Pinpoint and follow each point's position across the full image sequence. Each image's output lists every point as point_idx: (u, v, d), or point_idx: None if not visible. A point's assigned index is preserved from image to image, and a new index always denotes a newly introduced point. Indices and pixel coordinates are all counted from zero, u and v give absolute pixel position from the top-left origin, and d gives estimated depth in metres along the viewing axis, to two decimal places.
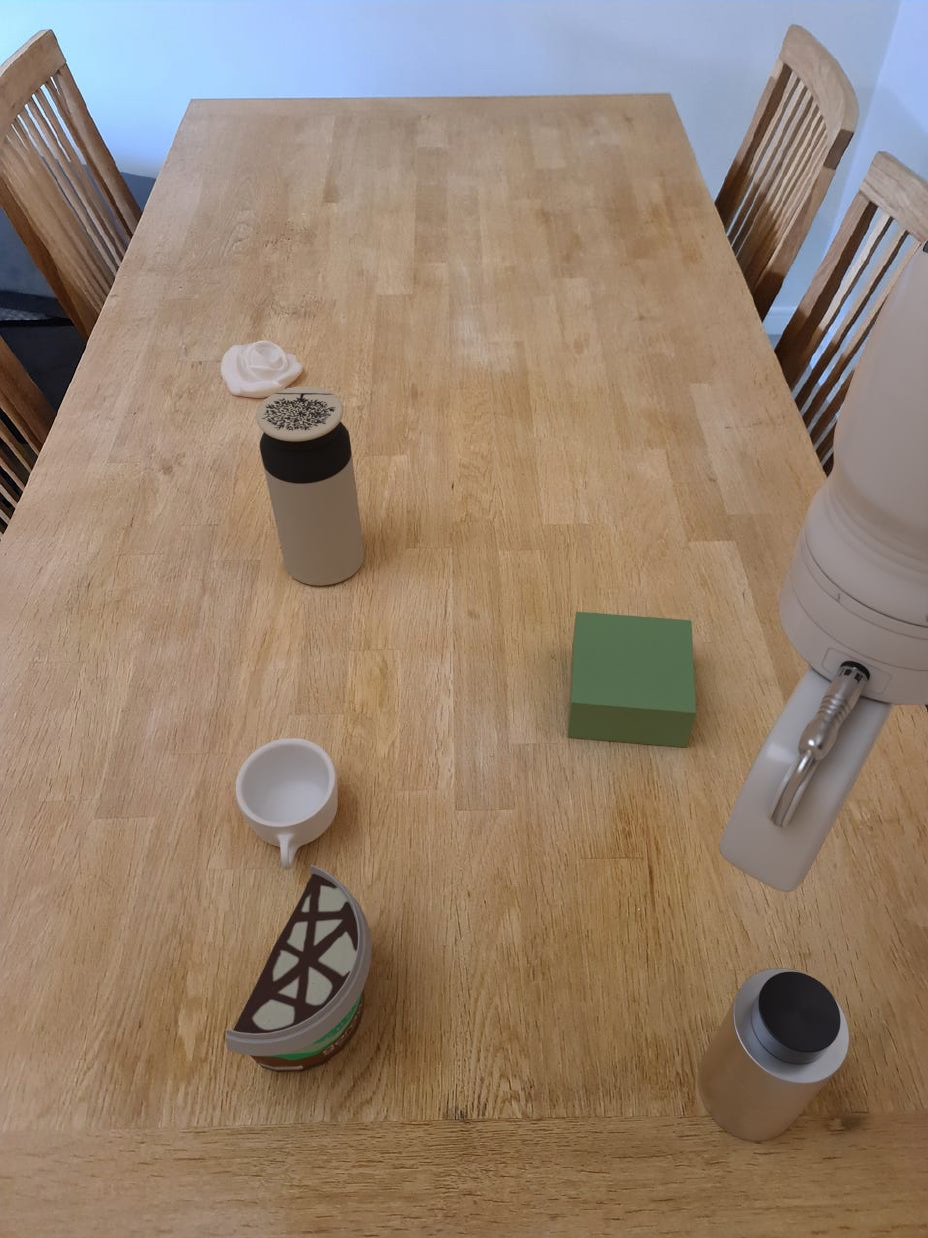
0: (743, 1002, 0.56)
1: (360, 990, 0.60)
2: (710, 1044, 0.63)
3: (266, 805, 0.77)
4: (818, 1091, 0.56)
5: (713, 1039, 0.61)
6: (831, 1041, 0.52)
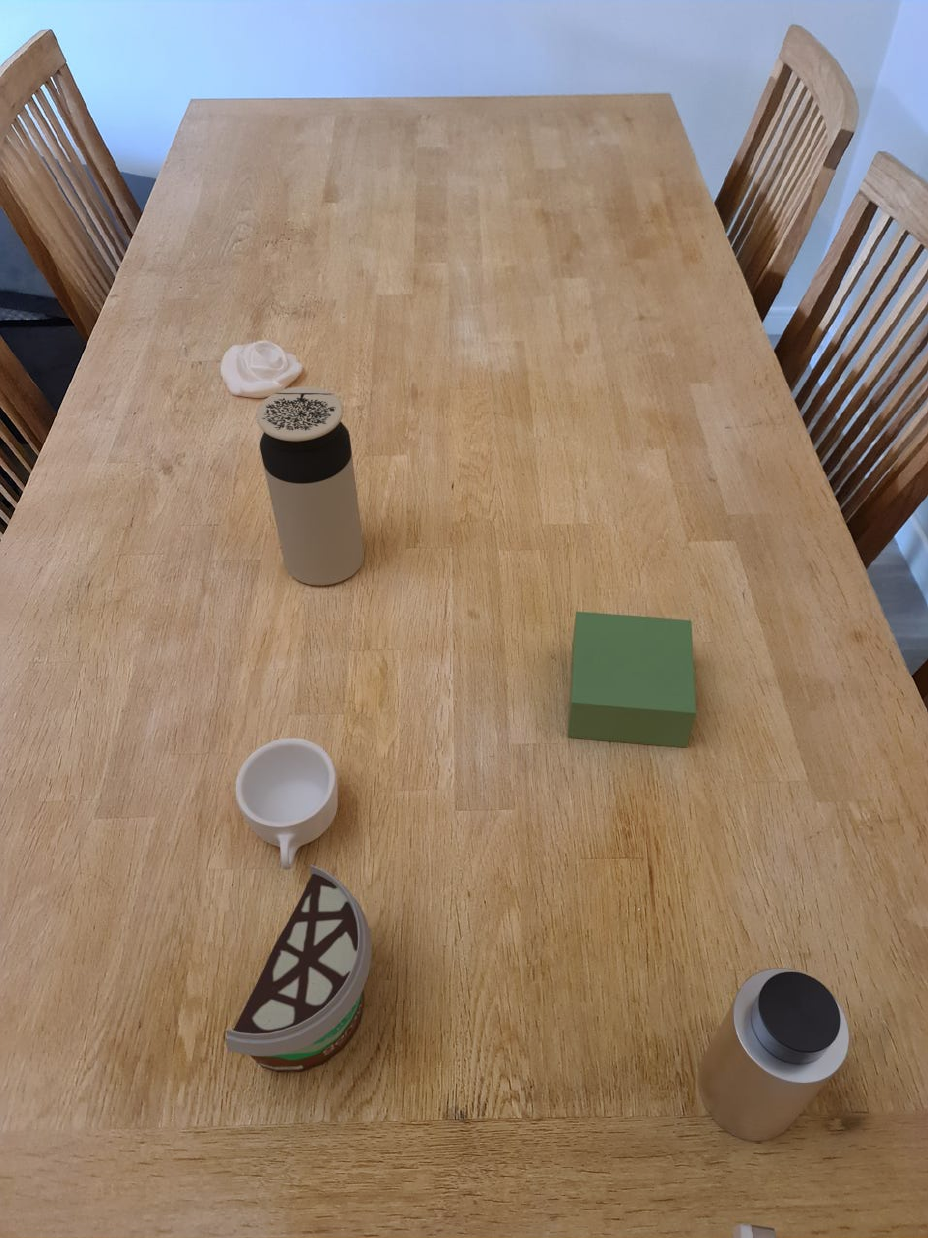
0: (743, 1002, 0.56)
1: (360, 990, 0.60)
2: (710, 1044, 0.63)
3: (266, 805, 0.77)
4: (818, 1091, 0.56)
5: (713, 1039, 0.61)
6: (831, 1041, 0.52)
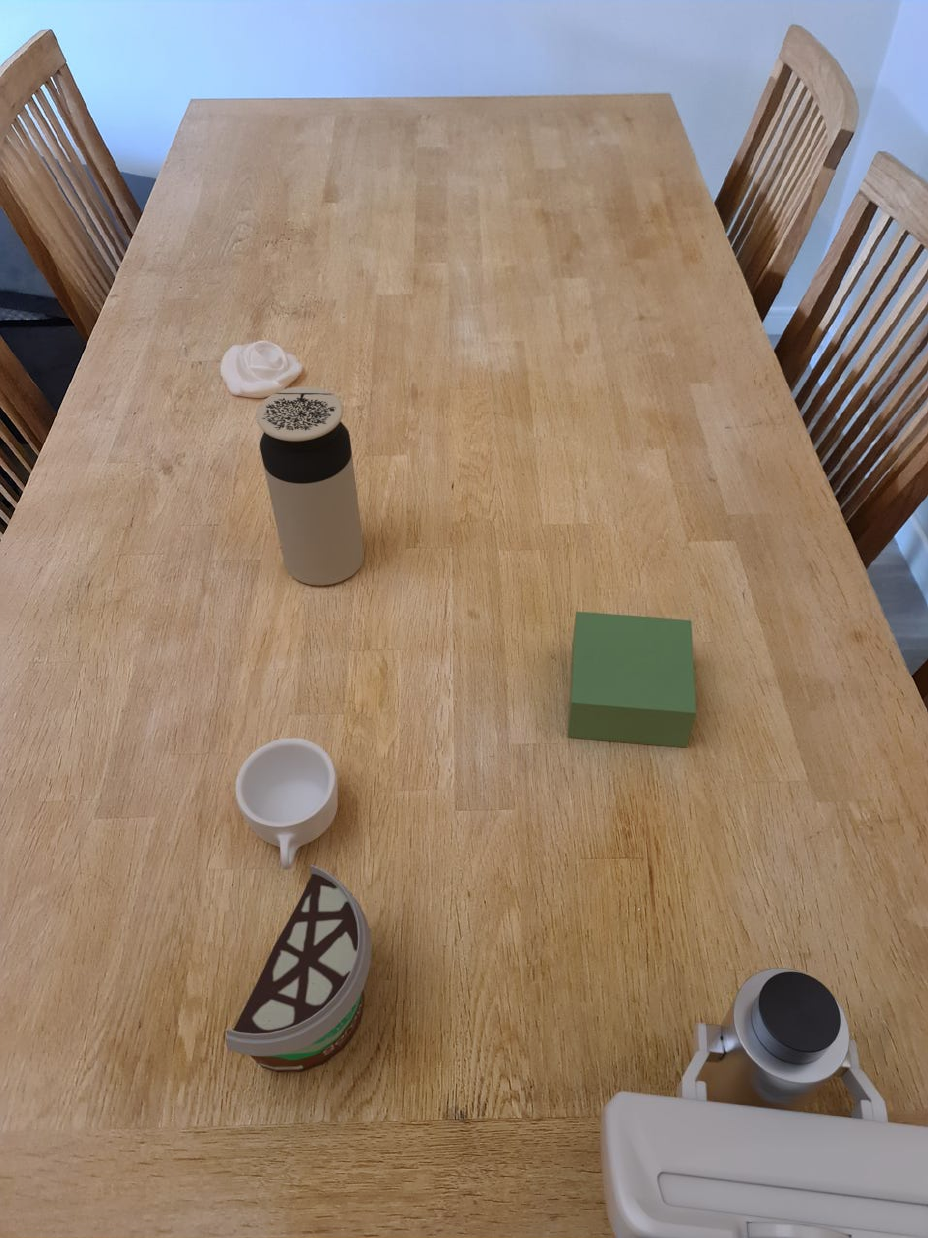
0: (744, 1002, 0.56)
1: (360, 990, 0.60)
2: None
3: (266, 805, 0.77)
4: (818, 1091, 0.56)
5: None
6: (831, 1041, 0.52)
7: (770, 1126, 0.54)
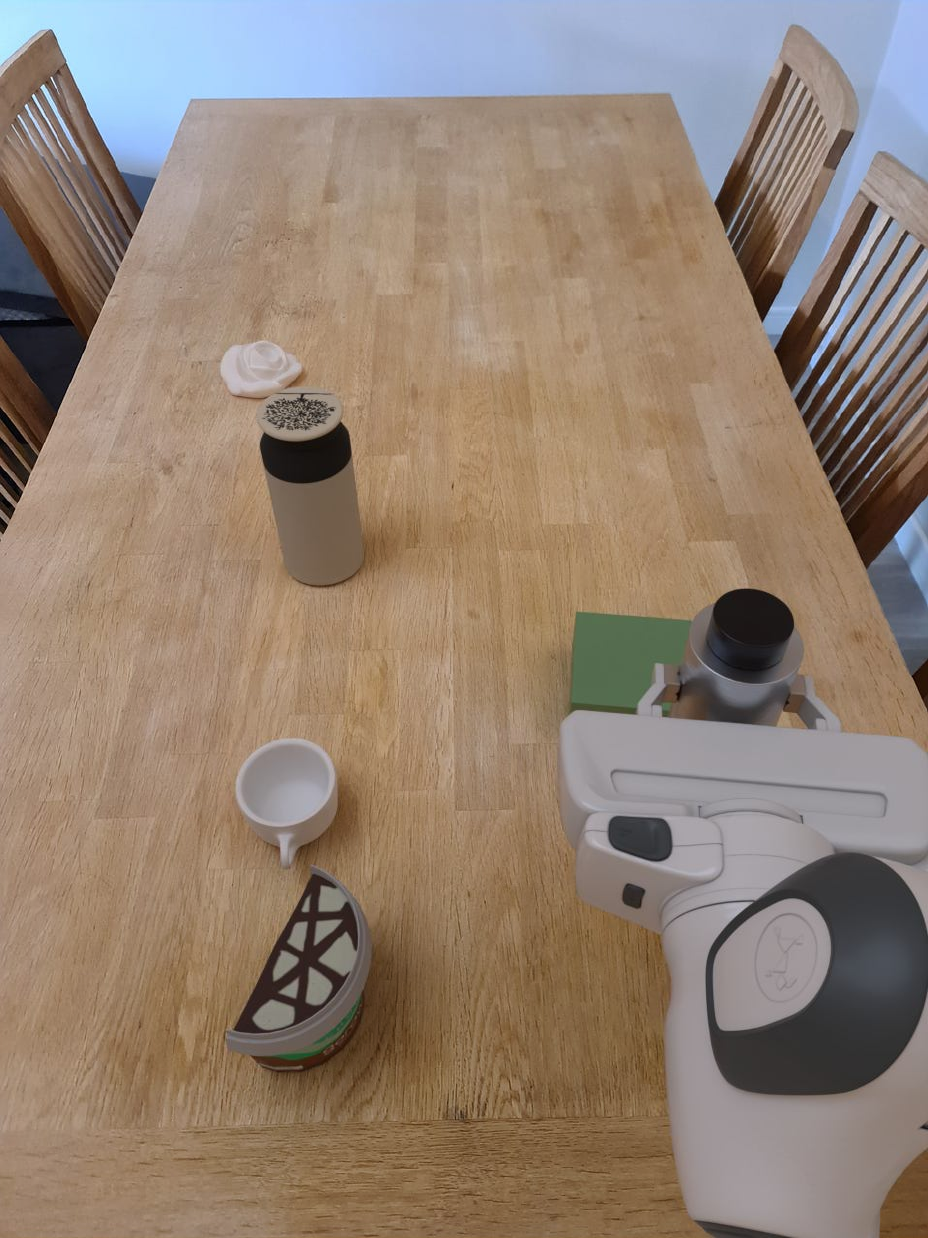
0: (699, 625, 0.56)
1: (360, 990, 0.60)
2: None
3: (266, 805, 0.77)
4: (774, 713, 0.56)
5: None
6: (784, 639, 0.52)
7: (724, 733, 0.54)
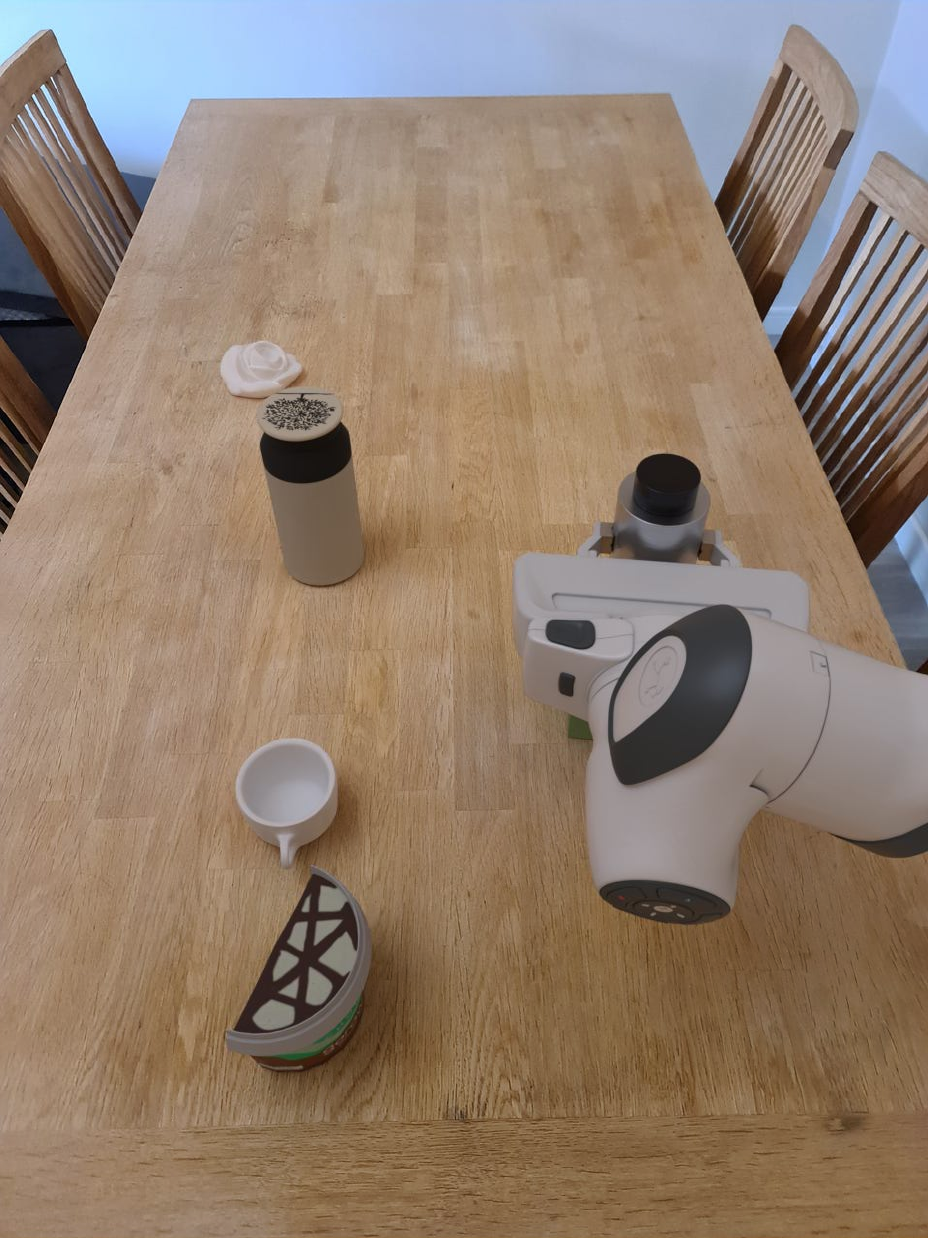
0: (627, 484, 0.69)
1: (360, 990, 0.60)
2: None
3: (266, 805, 0.77)
4: (687, 556, 0.69)
5: None
6: (691, 488, 0.65)
7: (645, 567, 0.67)
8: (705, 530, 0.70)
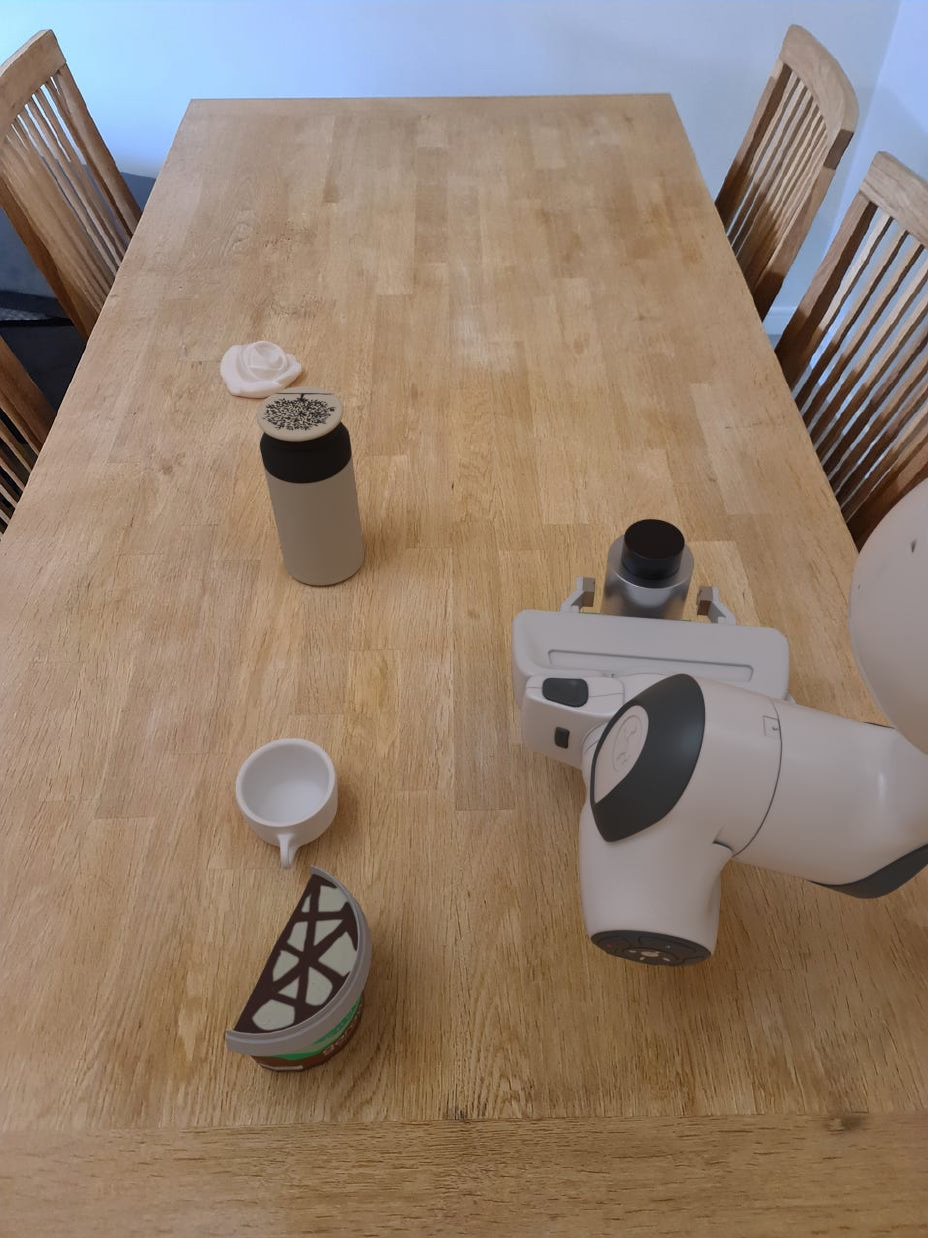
0: (616, 547, 0.73)
1: (360, 990, 0.60)
2: None
3: (266, 805, 0.77)
4: (673, 614, 0.73)
5: None
6: (676, 554, 0.70)
7: (635, 624, 0.71)
8: (703, 587, 0.75)
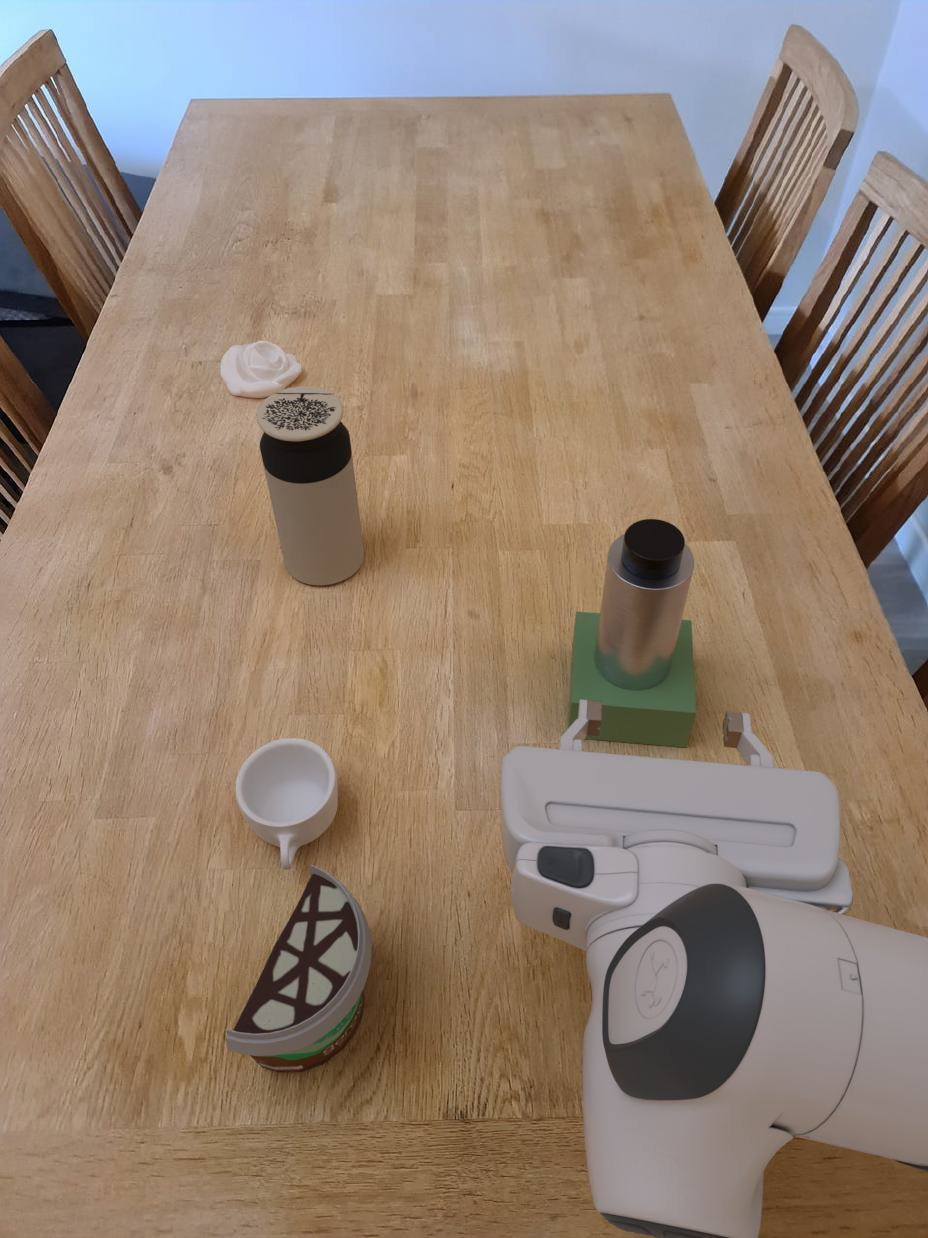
0: (616, 547, 0.73)
1: (360, 990, 0.60)
2: None
3: (266, 805, 0.77)
4: (673, 614, 0.73)
5: None
6: (676, 554, 0.70)
7: (651, 768, 0.59)
8: (732, 714, 0.62)
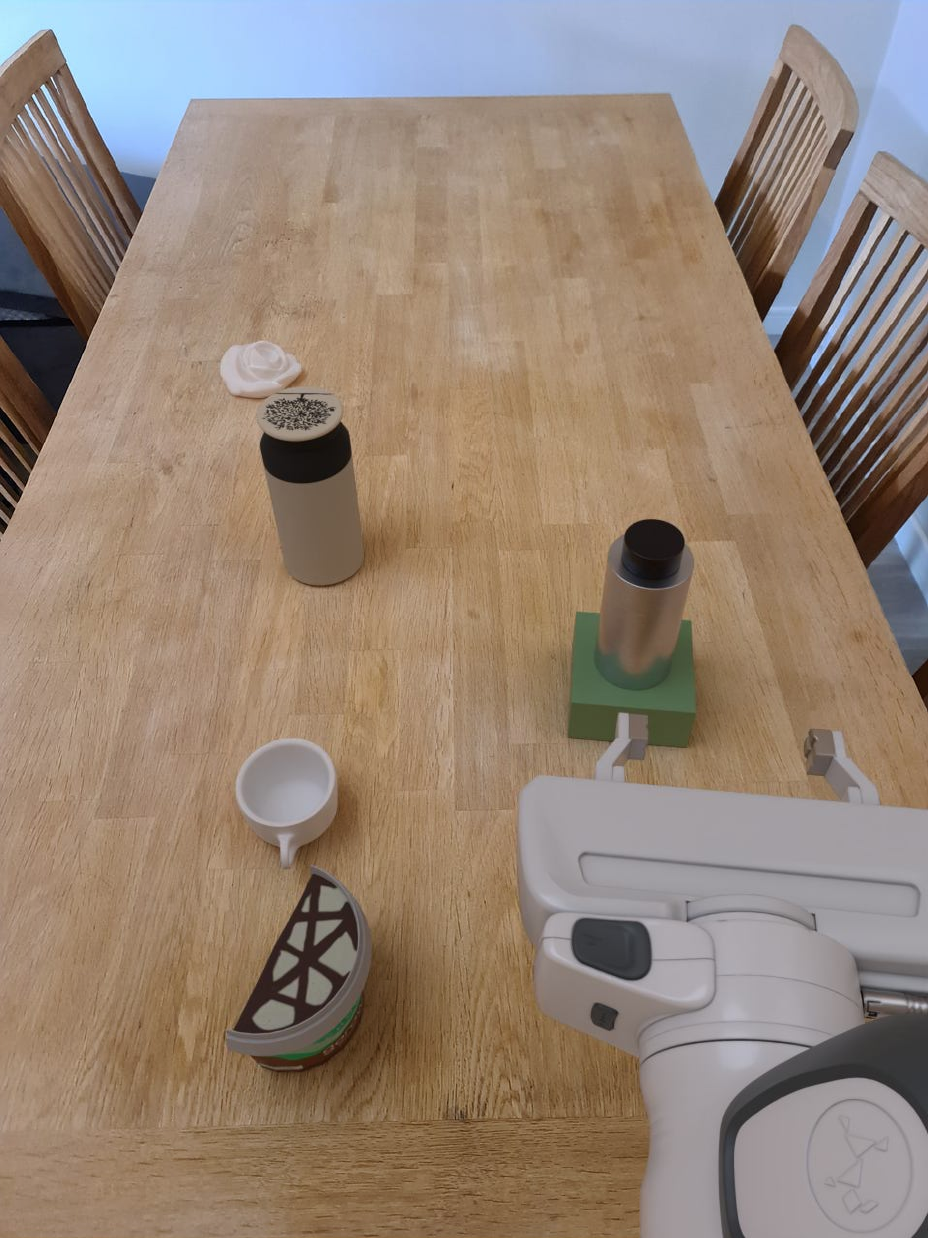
0: (616, 547, 0.73)
1: (360, 990, 0.60)
2: None
3: (266, 805, 0.77)
4: (673, 614, 0.73)
5: None
6: (676, 554, 0.70)
7: (719, 806, 0.44)
8: (818, 732, 0.48)
